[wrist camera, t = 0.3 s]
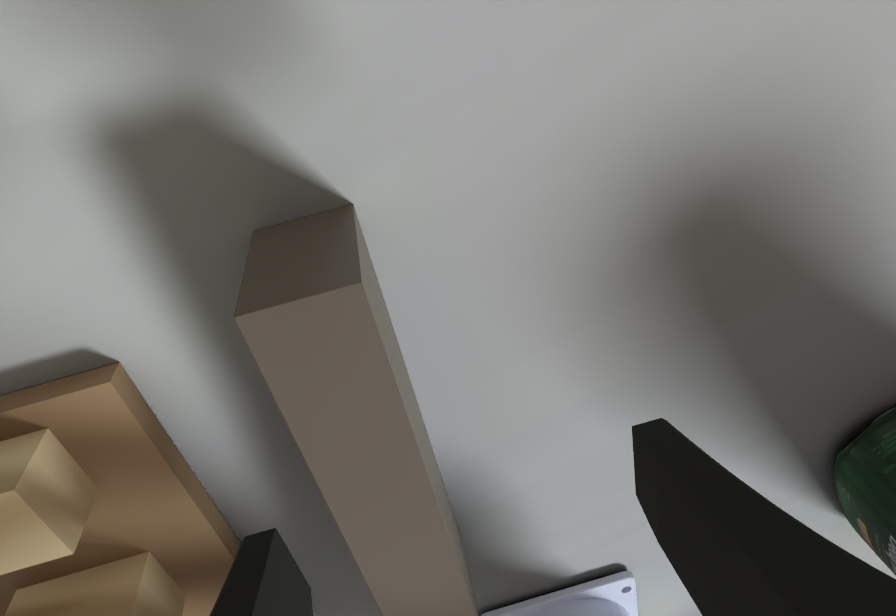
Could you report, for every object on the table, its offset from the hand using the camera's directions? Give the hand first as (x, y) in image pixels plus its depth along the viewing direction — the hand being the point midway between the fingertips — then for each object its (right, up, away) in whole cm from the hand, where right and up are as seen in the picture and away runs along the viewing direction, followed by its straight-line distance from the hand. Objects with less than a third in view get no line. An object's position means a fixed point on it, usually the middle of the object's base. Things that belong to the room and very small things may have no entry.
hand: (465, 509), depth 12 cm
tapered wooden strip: (-3, 0, +10) cm, 11 cm away
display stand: (-14, -6, +12) cm, 19 cm away
